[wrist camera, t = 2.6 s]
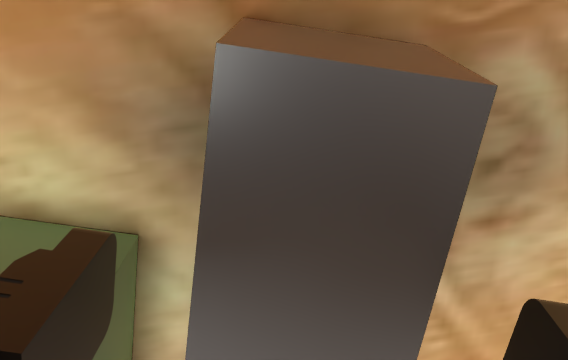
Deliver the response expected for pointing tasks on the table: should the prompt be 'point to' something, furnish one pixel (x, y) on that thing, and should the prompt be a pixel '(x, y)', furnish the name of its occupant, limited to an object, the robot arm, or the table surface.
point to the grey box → (328, 193)
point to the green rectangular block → (119, 338)
